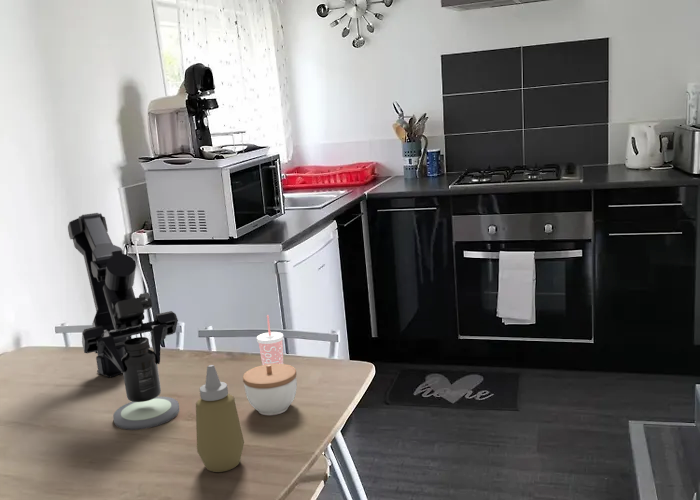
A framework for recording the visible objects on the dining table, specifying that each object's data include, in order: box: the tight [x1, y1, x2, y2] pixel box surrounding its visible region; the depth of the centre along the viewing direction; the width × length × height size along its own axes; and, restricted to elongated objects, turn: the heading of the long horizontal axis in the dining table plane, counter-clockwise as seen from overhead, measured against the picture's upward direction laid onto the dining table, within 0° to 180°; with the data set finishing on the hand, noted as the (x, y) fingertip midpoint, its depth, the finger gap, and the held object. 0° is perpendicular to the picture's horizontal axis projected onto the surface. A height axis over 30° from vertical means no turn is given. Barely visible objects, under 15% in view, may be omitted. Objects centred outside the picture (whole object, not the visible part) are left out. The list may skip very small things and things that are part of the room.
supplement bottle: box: [122, 336, 162, 402], centre depth 139 cm, size 7×7×12 cm
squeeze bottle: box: [195, 364, 245, 473], centre depth 116 cm, size 8×8×18 cm
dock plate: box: [112, 396, 180, 431], centre depth 141 cm, size 13×13×1 cm
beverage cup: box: [256, 314, 284, 365], centre depth 157 cm, size 6×6×14 cm
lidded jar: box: [242, 363, 298, 416], centre depth 138 cm, size 11×11×9 cm
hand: (141, 367), depth 138 cm, fingers closed on supplement bottle, 7 cm apart
